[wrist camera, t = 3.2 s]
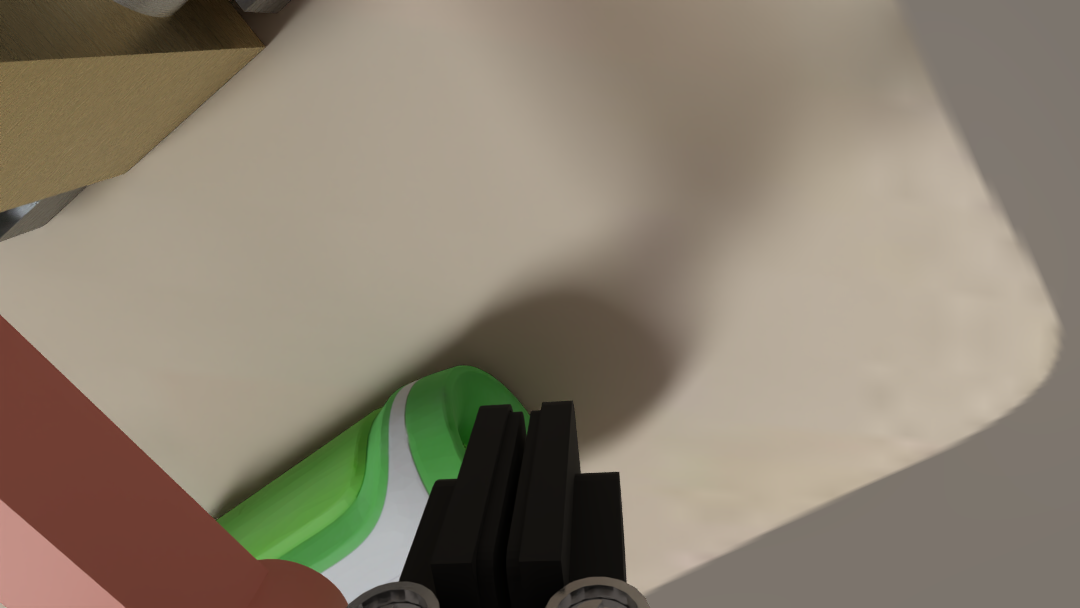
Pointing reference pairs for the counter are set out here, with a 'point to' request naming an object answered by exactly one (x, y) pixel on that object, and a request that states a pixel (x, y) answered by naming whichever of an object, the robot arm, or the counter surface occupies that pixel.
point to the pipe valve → (103, 89)
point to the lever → (112, 513)
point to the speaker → (369, 483)
